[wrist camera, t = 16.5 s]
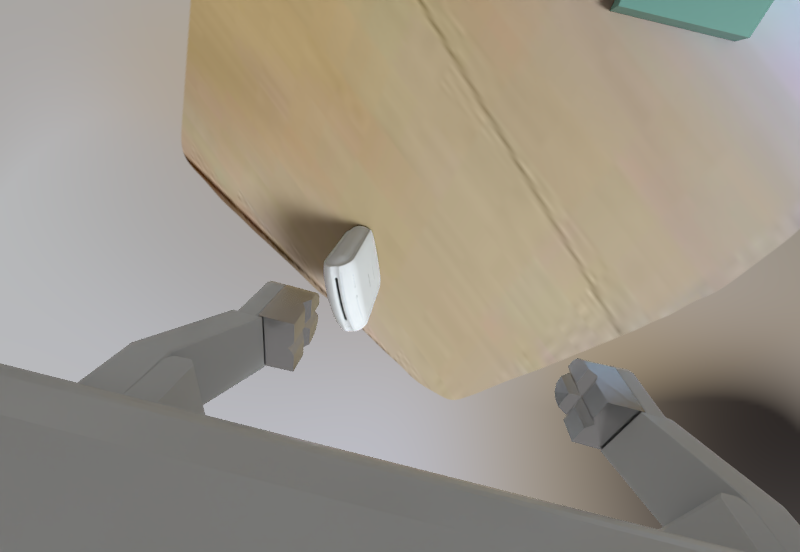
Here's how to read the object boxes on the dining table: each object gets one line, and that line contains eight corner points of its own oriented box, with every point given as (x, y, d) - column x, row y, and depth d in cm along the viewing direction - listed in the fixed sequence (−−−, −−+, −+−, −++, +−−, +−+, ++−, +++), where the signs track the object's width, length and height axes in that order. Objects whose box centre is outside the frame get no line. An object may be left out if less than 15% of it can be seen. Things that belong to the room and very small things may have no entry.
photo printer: (384, 286, 46) (366, 340, 35) (357, 287, 46) (332, 339, 36) (374, 224, 41) (350, 264, 30) (345, 225, 41) (311, 265, 31)
